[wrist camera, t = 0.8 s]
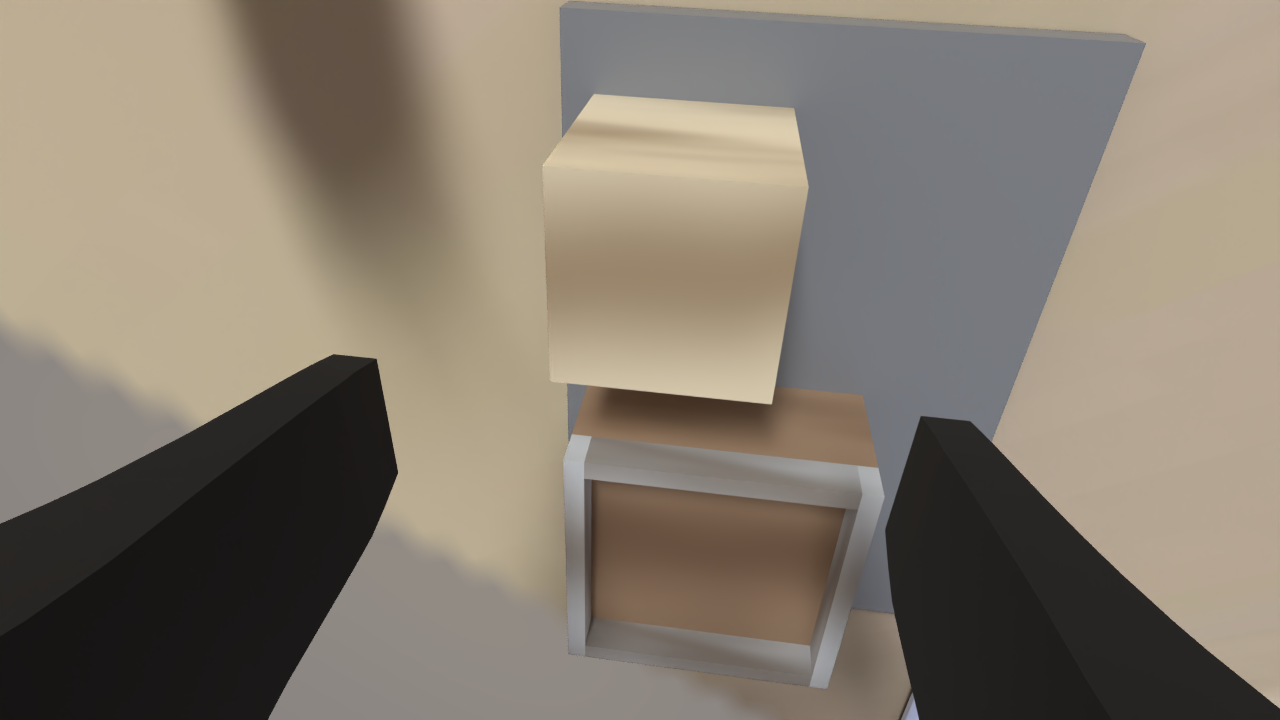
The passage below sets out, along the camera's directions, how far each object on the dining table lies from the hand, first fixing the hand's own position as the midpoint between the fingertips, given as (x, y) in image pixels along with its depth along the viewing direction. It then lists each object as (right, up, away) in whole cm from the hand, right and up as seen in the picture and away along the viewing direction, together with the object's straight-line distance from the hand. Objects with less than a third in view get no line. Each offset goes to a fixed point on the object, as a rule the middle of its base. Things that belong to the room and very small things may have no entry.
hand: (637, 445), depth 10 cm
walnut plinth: (+2, -2, +13) cm, 14 cm away
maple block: (+1, +5, +8) cm, 9 cm away
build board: (+4, +1, +11) cm, 12 cm away
